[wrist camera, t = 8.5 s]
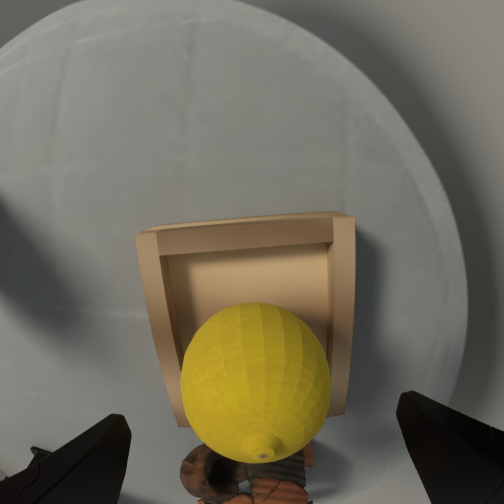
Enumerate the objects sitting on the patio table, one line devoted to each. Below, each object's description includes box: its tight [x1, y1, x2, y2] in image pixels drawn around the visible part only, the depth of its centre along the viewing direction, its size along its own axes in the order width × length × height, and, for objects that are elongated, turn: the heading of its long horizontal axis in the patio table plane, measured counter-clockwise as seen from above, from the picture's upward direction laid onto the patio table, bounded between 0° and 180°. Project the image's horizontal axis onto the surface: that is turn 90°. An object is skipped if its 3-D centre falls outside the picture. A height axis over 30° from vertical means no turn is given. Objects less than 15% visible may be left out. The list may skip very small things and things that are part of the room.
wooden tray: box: [135, 211, 355, 427], centre depth 15 cm, size 11×10×3 cm
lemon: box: [180, 302, 331, 463], centre depth 11 cm, size 6×6×8 cm
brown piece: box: [180, 441, 315, 504], centre depth 17 cm, size 12×10×8 cm
